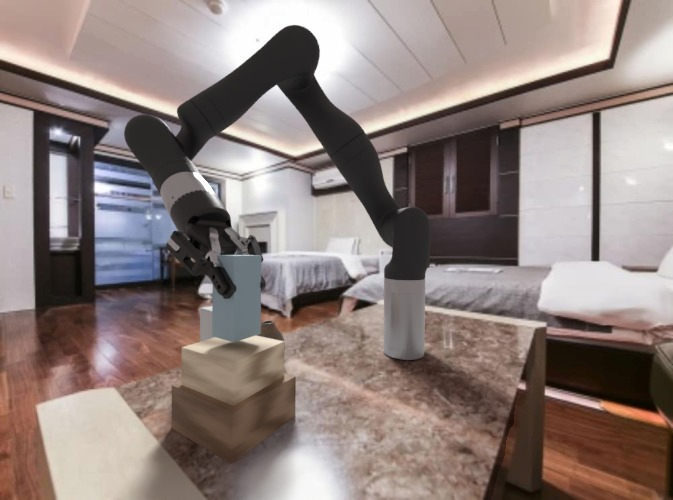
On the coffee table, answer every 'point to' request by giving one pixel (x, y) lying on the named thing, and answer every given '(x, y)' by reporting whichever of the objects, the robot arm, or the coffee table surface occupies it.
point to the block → (238, 300)
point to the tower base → (233, 417)
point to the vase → (270, 331)
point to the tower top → (232, 367)
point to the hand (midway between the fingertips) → (246, 291)
